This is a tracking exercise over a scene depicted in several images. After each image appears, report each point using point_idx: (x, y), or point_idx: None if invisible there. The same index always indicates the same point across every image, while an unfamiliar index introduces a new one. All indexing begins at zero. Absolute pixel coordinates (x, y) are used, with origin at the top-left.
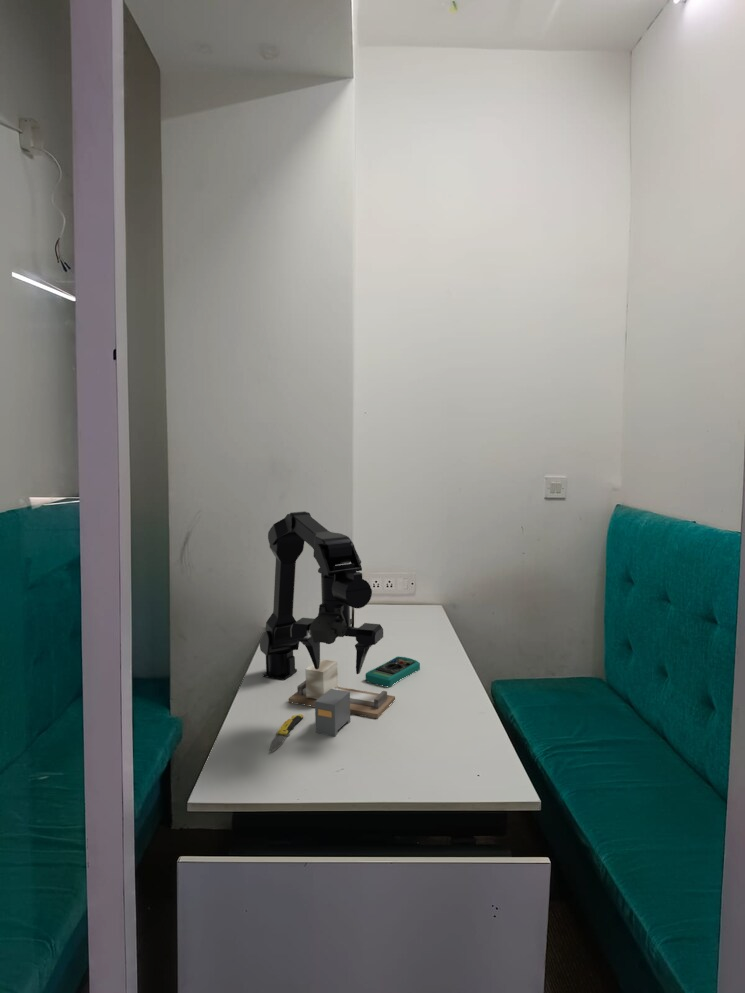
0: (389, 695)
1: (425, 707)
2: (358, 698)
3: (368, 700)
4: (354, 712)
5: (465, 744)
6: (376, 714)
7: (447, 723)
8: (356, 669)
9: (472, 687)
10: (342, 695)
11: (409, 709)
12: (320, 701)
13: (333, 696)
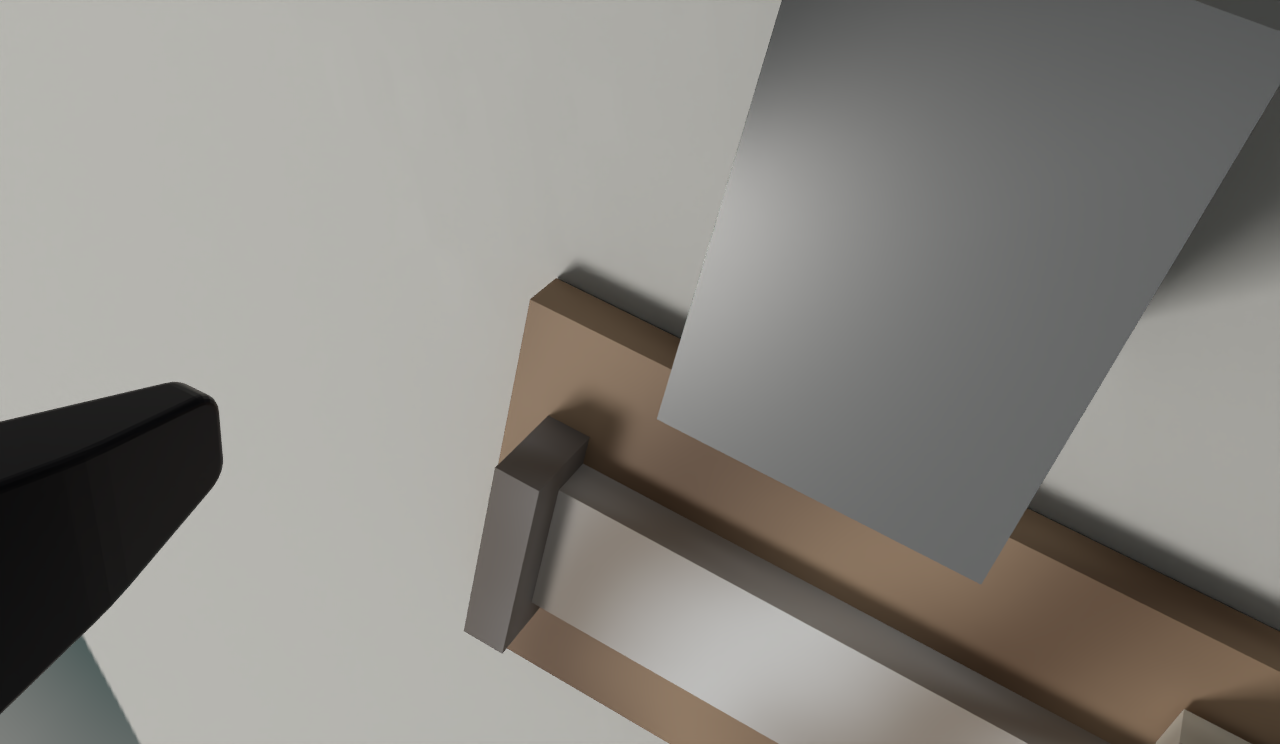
0: (514, 650)
1: (256, 441)
2: (743, 608)
3: (633, 541)
4: None
5: None
6: (543, 301)
7: (44, 153)
8: (109, 427)
9: (104, 657)
10: (745, 302)
11: (350, 426)
12: (1159, 44)
13: (896, 271)
